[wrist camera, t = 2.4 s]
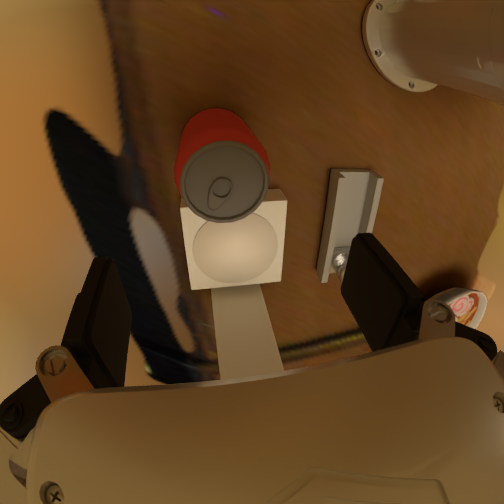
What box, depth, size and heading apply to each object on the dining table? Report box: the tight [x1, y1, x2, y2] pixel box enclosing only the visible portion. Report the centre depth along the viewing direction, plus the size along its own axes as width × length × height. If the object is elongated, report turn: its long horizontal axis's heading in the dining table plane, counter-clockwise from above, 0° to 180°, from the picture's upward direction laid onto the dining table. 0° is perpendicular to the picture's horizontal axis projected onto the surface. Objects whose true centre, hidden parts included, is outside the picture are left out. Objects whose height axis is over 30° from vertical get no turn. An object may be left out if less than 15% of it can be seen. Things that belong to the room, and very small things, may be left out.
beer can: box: [174, 108, 270, 223], centre depth 23 cm, size 7×7×12 cm
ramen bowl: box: [424, 288, 488, 329], centre depth 48 cm, size 25×23×8 cm
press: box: [180, 169, 384, 380], centre depth 27 cm, size 18×22×23 cm
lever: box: [329, 247, 350, 283], centre depth 33 cm, size 3×3×11 cm
